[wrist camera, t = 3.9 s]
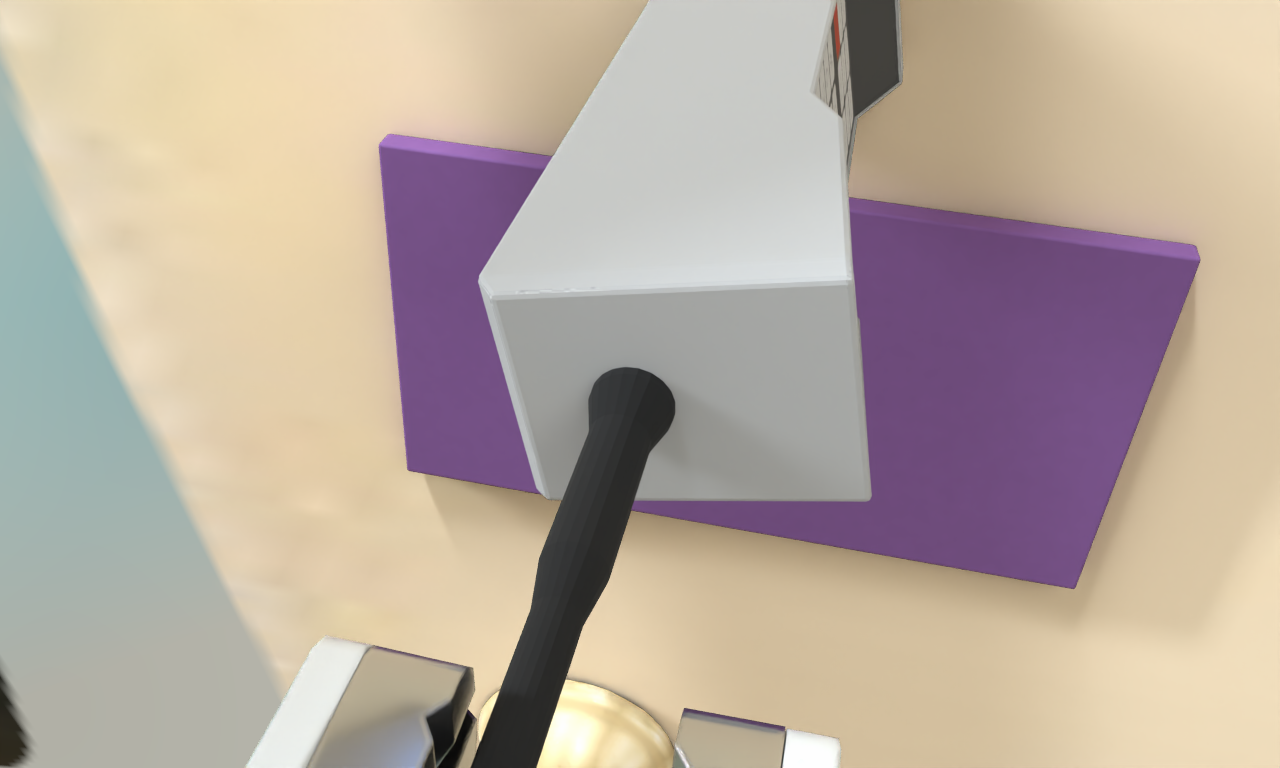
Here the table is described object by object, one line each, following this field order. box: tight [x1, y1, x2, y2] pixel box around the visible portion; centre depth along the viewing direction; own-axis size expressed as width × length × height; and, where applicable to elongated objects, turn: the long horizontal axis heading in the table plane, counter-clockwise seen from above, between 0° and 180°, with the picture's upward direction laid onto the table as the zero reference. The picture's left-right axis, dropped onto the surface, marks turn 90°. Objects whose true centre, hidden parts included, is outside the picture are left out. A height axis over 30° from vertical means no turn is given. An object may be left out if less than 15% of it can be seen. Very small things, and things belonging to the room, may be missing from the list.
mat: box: [379, 134, 1200, 589], centre depth 35 cm, size 12×22×1 cm, turn 87°
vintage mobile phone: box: [470, 0, 903, 768], centre depth 19 cm, size 4×5×25 cm
